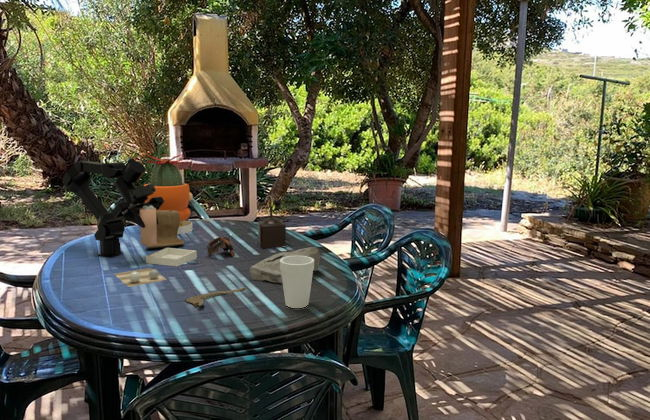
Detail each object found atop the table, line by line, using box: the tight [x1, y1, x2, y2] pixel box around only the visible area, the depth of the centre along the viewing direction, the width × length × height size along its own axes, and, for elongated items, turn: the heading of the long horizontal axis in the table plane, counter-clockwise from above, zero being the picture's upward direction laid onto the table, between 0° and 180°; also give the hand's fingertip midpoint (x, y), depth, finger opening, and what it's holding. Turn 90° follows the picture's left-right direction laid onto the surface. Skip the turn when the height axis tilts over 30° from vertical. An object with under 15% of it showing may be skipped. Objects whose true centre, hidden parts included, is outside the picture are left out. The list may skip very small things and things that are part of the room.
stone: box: [249, 246, 321, 284], centre depth 166 cm, size 18×10×20 cm
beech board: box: [113, 267, 168, 288], centre depth 161 cm, size 16×12×1 cm
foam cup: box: [280, 256, 314, 309], centre depth 138 cm, size 10×9×13 cm
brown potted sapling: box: [257, 198, 287, 249], centre depth 207 cm, size 16×11×18 cm
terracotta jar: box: [139, 205, 157, 246], centre depth 175 cm, size 5×5×14 cm
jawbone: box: [184, 286, 247, 308], centre depth 146 cm, size 9×20×2 cm, turn 151°
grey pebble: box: [149, 269, 160, 279], centre depth 159 cm, size 3×3×3 cm
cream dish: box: [145, 247, 198, 267], centre depth 181 cm, size 13×13×3 cm
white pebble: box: [129, 270, 141, 282], centre depth 156 cm, size 3×3×3 cm
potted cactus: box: [143, 154, 193, 235], centre depth 225 cm, size 22×22×35 cm
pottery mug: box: [206, 236, 236, 258], centre depth 190 cm, size 12×10×8 cm
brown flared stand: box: [145, 210, 185, 249], centre depth 201 cm, size 15×12×15 cm
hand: (151, 225), depth 175 cm, fingers closed on terracotta jar, 5 cm apart
